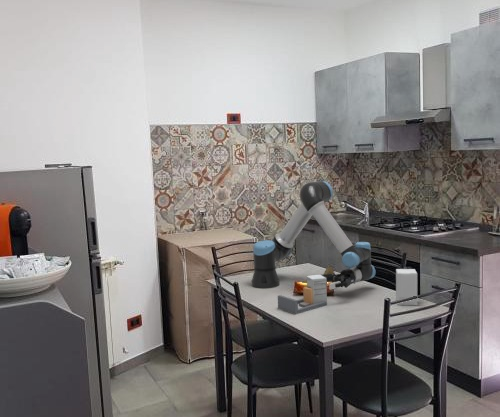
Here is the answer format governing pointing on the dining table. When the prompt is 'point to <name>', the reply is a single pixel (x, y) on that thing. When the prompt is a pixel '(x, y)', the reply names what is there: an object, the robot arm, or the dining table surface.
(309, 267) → the dining table surface
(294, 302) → the grey l-shaped block
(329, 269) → the rock
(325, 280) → the supplement box
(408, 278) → the supplement box
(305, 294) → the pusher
